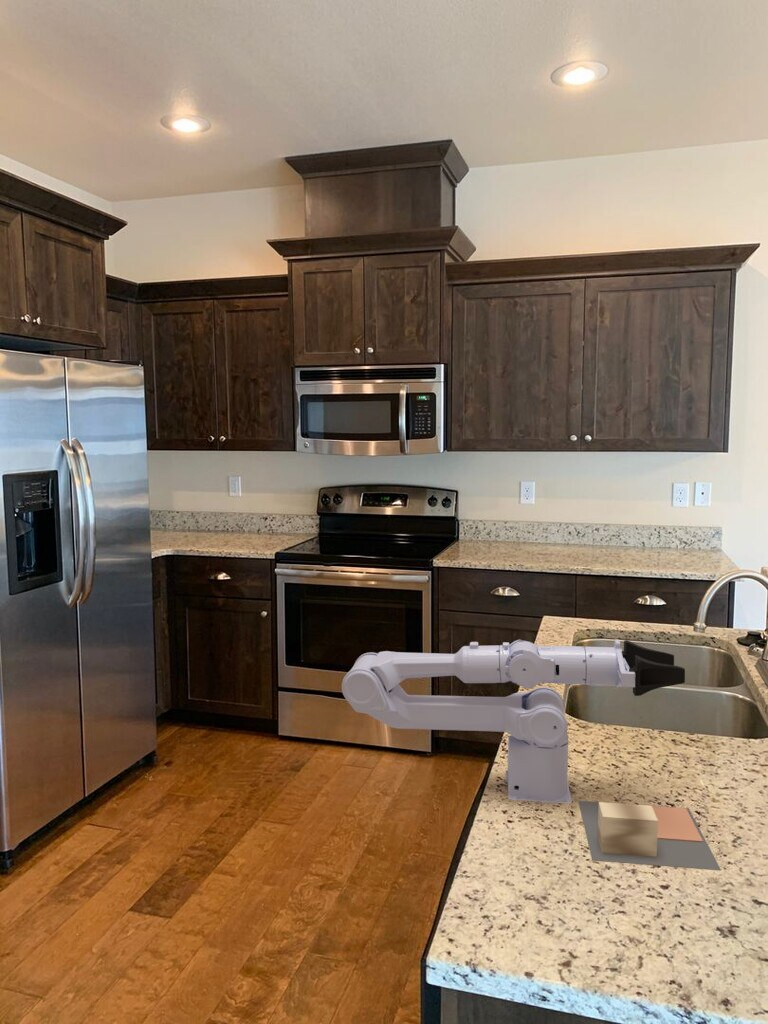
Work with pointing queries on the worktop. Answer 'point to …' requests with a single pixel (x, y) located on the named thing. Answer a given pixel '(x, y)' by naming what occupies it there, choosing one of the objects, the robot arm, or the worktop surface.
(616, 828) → the birch block
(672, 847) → the rubber mat
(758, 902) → the worktop surface
